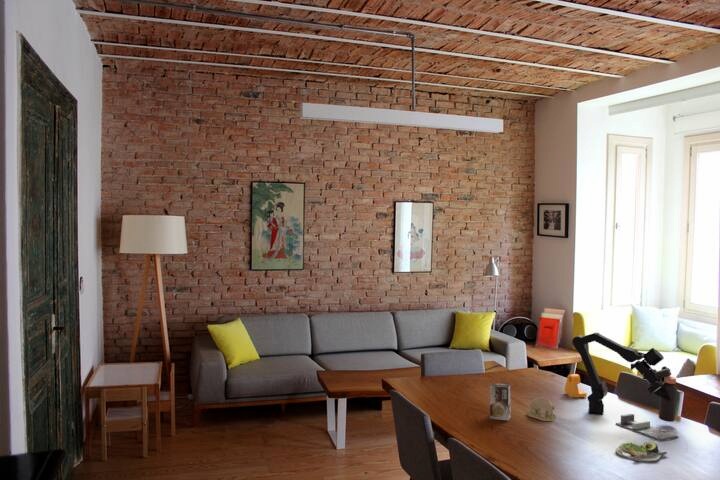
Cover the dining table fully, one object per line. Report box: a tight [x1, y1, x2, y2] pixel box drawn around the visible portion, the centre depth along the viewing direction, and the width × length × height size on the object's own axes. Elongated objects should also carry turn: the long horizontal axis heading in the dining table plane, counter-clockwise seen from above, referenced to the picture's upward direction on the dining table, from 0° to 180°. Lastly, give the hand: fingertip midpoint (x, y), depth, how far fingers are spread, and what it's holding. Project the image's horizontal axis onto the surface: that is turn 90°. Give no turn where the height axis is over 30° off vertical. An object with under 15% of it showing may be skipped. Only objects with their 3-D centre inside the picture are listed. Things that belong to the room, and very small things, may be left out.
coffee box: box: [489, 382, 512, 421], centre depth 294 cm, size 9×6×16 cm
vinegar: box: [658, 376, 678, 423], centre depth 284 cm, size 7×7×20 cm
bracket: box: [563, 373, 588, 398], centre depth 335 cm, size 11×7×12 cm, turn 13°
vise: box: [615, 420, 679, 442], centre depth 276 cm, size 24×11×3 cm, turn 24°
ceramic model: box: [526, 396, 556, 422], centre depth 296 cm, size 14×11×10 cm
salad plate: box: [615, 441, 668, 463], centre depth 246 cm, size 19×18×5 cm
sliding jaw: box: [620, 413, 651, 429], centre depth 282 cm, size 10×9×4 cm
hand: (671, 398), depth 283 cm, fingers closed on vinegar, 6 cm apart
